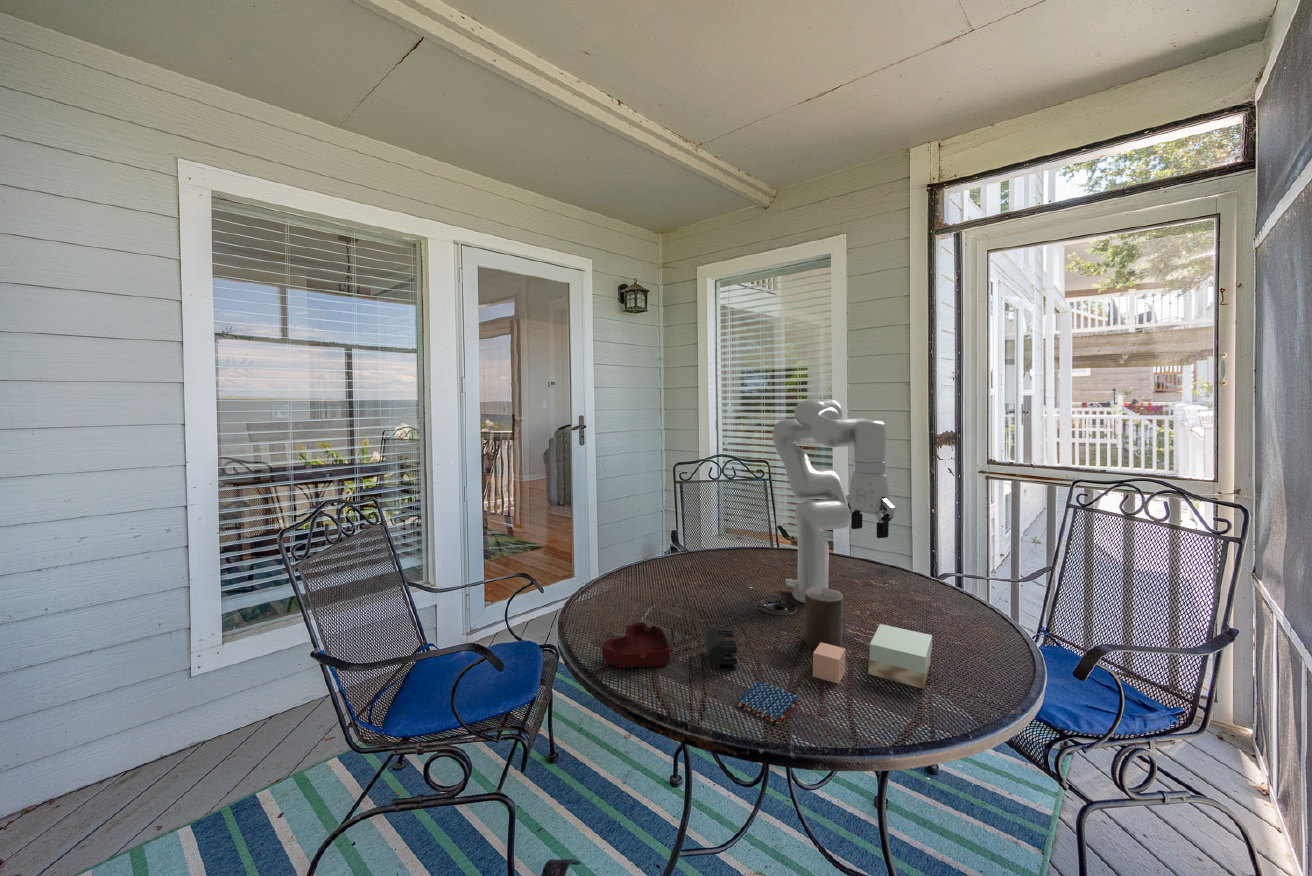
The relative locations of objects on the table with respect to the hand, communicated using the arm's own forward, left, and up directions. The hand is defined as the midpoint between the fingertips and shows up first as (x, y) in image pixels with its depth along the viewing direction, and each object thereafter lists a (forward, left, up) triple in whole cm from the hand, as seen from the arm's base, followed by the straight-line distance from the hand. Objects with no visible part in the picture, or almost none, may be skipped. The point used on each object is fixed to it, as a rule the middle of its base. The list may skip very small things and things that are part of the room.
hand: (869, 532), depth 141 cm
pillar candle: (-10, -6, -30) cm, 32 cm away
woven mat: (-12, -39, -31) cm, 51 cm away
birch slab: (+10, -10, -31) cm, 33 cm away
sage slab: (+10, -10, -27) cm, 30 cm away
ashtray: (-47, -38, -31) cm, 67 cm away
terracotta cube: (-4, -21, -30) cm, 37 cm away
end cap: (-29, -29, -30) cm, 51 cm away
